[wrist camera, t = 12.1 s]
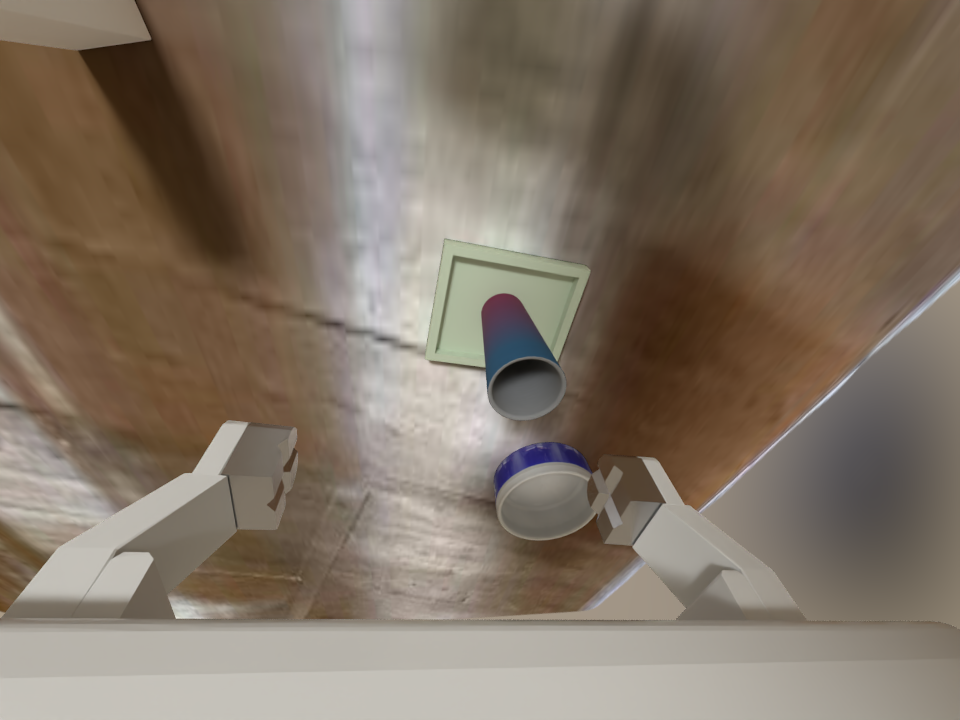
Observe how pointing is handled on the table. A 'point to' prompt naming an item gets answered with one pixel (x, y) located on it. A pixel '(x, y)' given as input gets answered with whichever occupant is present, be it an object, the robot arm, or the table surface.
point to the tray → (489, 272)
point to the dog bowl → (543, 491)
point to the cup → (518, 362)
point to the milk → (72, 23)
